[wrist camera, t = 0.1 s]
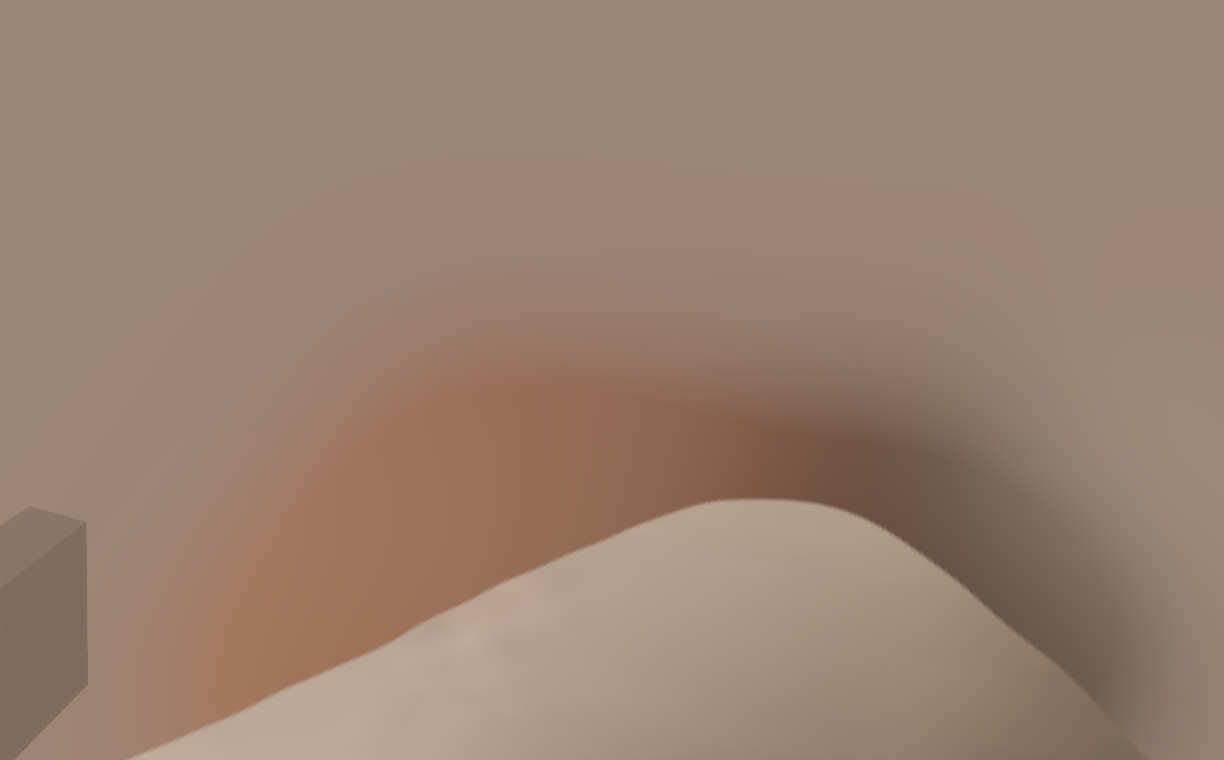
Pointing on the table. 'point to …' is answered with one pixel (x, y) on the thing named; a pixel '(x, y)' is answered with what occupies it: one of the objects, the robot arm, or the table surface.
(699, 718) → the table surface
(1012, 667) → the table surface
